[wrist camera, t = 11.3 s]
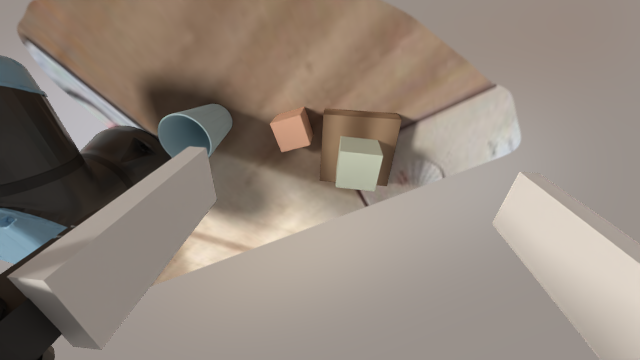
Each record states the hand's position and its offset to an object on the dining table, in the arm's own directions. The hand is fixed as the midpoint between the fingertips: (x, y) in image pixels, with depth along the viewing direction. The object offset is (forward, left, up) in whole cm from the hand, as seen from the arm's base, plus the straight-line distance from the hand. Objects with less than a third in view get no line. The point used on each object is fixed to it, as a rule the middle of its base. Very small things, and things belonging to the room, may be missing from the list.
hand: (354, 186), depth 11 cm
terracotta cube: (-8, -8, -32) cm, 34 cm away
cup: (-22, -8, -32) cm, 40 cm away
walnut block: (+3, -11, -32) cm, 34 cm away
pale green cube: (+3, -11, -28) cm, 31 cm away
